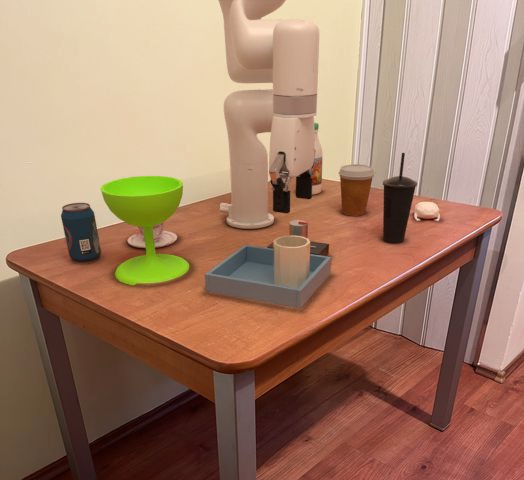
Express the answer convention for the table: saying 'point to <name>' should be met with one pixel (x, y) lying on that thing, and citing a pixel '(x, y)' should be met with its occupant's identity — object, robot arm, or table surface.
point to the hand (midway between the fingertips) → (292, 205)
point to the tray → (263, 277)
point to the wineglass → (146, 224)
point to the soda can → (81, 233)
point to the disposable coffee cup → (355, 188)
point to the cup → (291, 260)
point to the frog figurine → (426, 211)
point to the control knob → (298, 228)
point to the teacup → (159, 236)
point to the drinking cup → (397, 205)
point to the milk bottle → (317, 164)
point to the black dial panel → (315, 248)
